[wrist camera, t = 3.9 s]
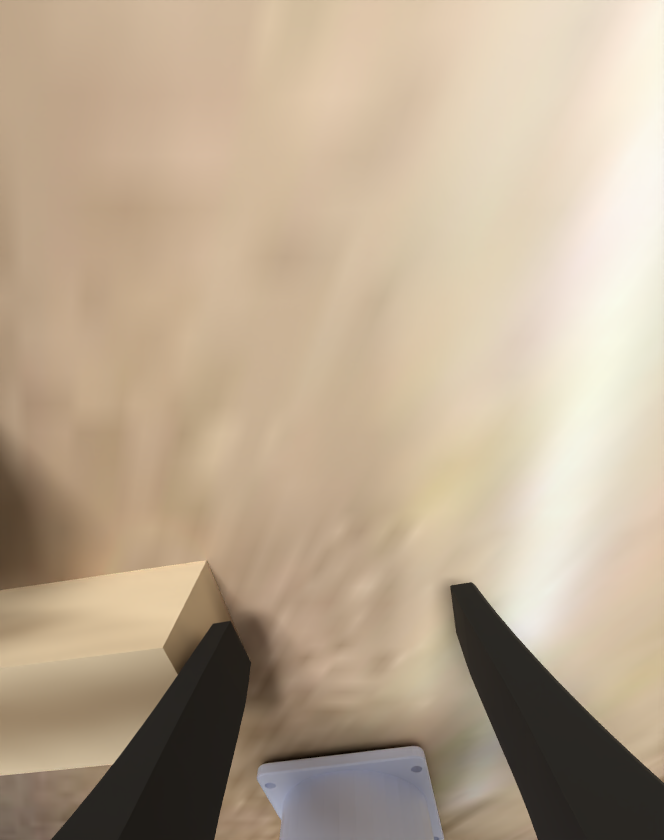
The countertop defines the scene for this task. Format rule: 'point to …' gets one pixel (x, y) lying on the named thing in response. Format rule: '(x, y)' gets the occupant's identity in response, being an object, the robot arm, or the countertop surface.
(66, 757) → the tan rectangular block
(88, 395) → the countertop surface
